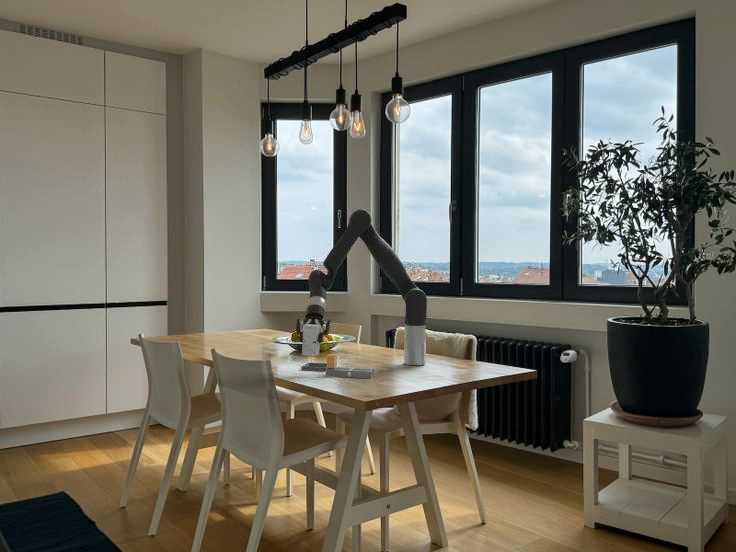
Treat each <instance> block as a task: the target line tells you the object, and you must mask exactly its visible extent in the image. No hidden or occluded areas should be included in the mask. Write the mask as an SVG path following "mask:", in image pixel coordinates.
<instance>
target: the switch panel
mask: <svg viewBox="0 0 736 552" xmlns="http://www.w3.org/2000/svg"><path fill="white" fill-rule="evenodd" d="M374 376H375V368H366V367H365V368H362V367H340V366H337V367H336V368H328V369H326V371H325V377H336V378H337V377H338V378H339V377H340V378H359V379H360V378H361V379H372V378H373V377H374Z"/></svg>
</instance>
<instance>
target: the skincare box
mask: <svg viewBox="0 0 736 552" xmlns="http://www.w3.org/2000/svg"><path fill="white" fill-rule="evenodd" d="M302 325H303V326H302V328H303V343H302V344H301V345H302V346H301V356H310V357H317V356H319V355H320V345H321V343H319V334H320V325H311V324H306V325H304V324H302Z"/></svg>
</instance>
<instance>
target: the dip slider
mask: <svg viewBox="0 0 736 552" xmlns="http://www.w3.org/2000/svg"><path fill="white" fill-rule="evenodd" d="M337 356H338V354H337V353H336V354H335V353H329V354H327V355H326V363H327V368H336V367H338V364H337V363H338V357H337Z"/></svg>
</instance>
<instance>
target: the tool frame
mask: <svg viewBox="0 0 736 552" xmlns="http://www.w3.org/2000/svg"><path fill="white" fill-rule="evenodd" d="M326 369H328V368H327V362H326V363H325V362H306V363H305V364H303V365H300V370H301V371H309V372H311V371H313V372H326Z"/></svg>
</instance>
